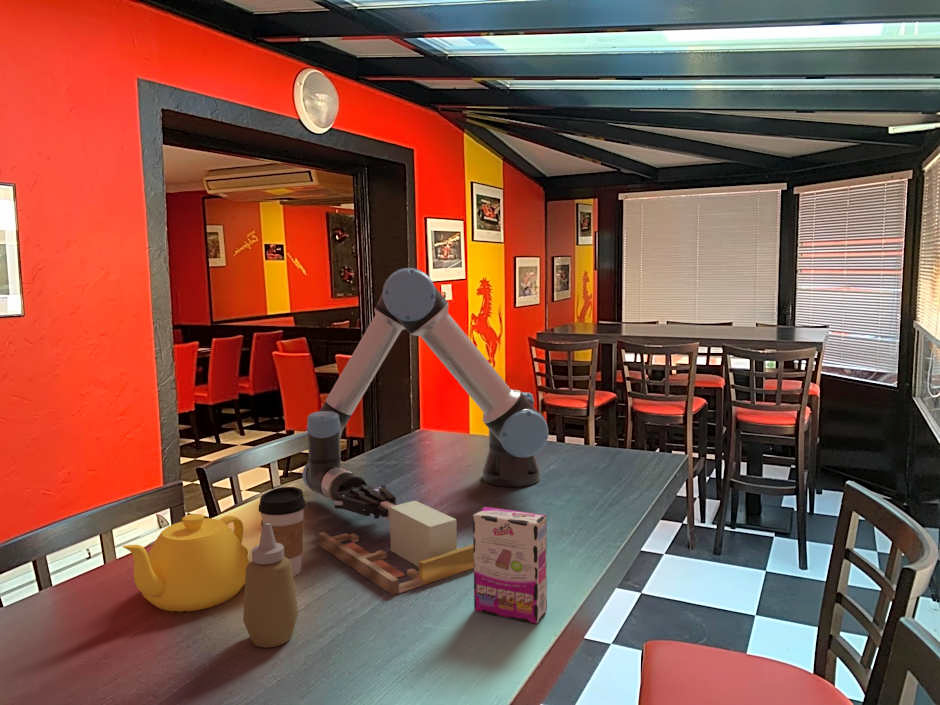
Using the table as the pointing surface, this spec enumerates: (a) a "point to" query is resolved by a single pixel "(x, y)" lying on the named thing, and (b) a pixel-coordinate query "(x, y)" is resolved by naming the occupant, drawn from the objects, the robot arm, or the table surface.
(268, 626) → the squeeze bottle
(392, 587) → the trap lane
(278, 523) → the coffee cup
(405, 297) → the robot arm
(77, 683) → the table surface
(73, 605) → the table surface
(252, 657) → the table surface
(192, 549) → the teapot
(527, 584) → the candy bar box
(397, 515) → the brick
